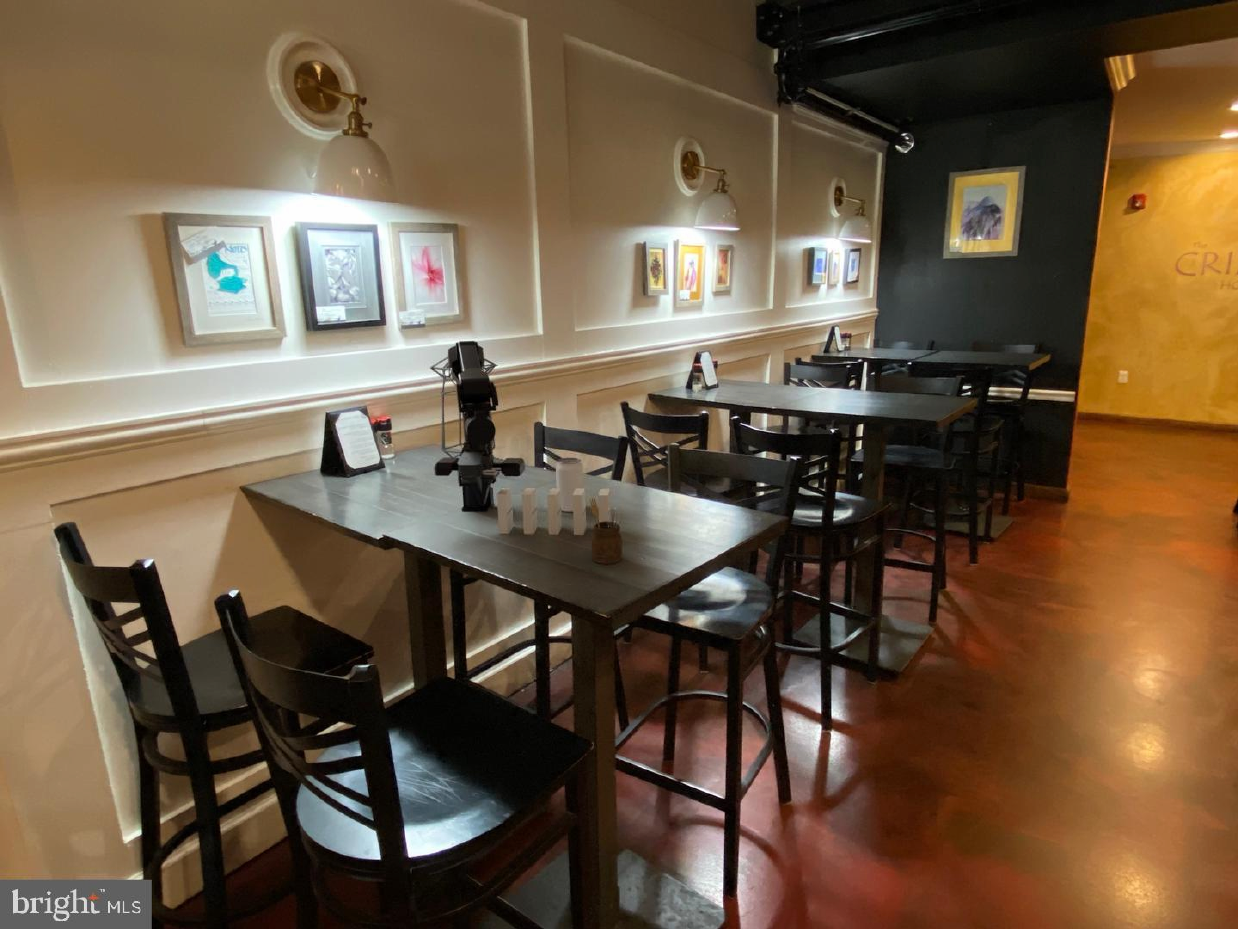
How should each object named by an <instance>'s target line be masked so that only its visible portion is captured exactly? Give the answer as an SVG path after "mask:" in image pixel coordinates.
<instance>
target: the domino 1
mask: <svg viewBox="0 0 1238 929" xmlns="http://www.w3.org/2000/svg"><path fill="white" fill-rule="evenodd" d="M512 491H513V490H512V487H502V488H501V489H500V490H499V491H498V492H497V493H496V502H497V520H498V533H499V534H500V535H509V534H510V532H511V531H512V529H513V528H514V514H513V513H514V511H513V496H512V495H513V494H512Z"/></svg>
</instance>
